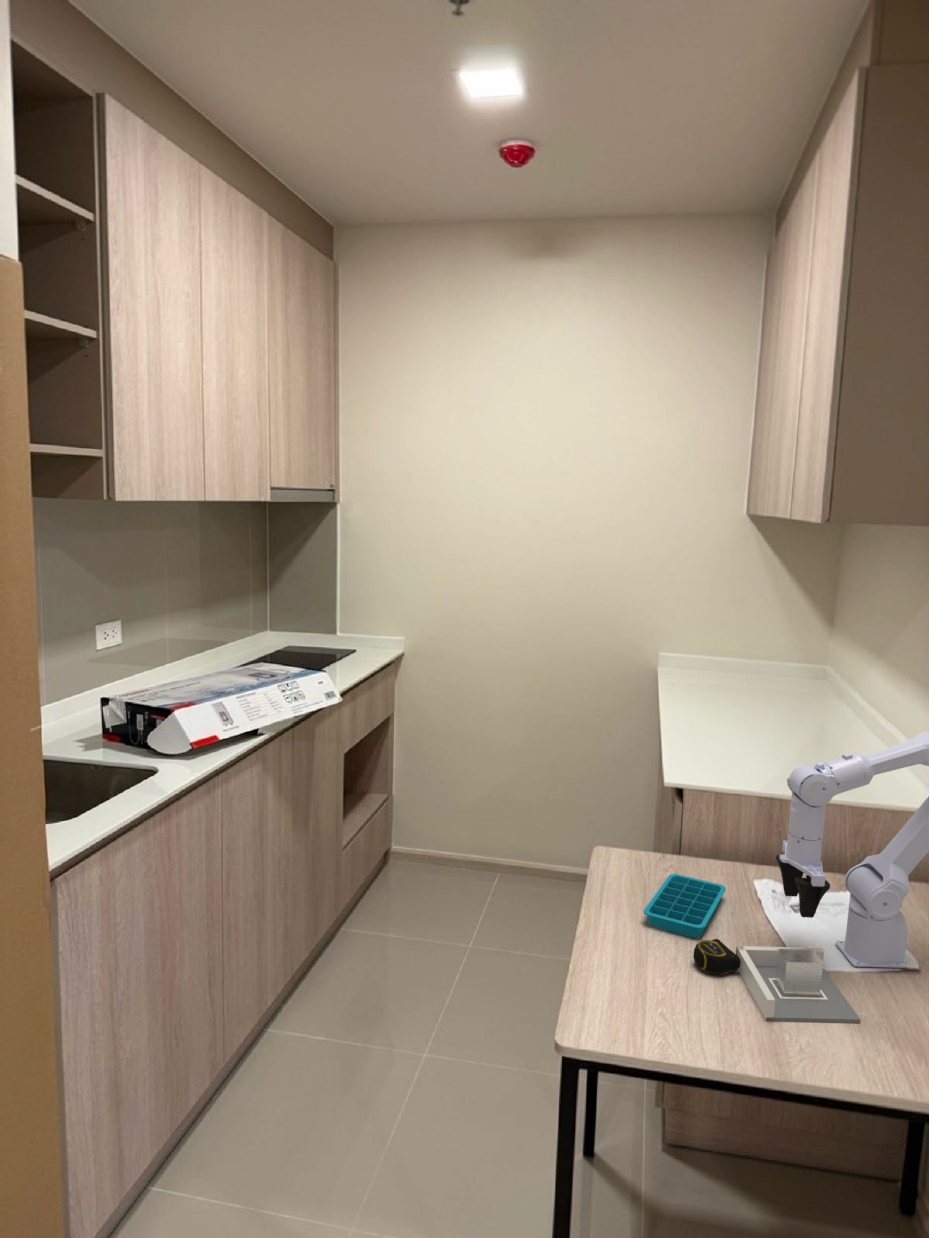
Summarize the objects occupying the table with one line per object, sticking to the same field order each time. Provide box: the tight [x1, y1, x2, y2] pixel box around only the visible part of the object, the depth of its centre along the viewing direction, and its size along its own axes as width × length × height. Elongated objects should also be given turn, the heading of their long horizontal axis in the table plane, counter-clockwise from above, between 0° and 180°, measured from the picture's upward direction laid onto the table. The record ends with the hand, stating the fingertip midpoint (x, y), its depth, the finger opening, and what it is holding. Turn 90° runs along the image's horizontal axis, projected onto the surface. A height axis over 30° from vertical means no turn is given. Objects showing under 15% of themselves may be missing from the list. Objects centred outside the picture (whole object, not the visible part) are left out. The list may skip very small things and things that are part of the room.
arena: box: [735, 945, 862, 1024], centre depth 145 cm, size 15×16×4 cm
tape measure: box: [692, 938, 740, 975], centre depth 152 cm, size 7×7×4 cm
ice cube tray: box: [643, 873, 727, 939], centre depth 172 cm, size 12×20×3 cm, turn 151°
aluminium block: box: [775, 949, 824, 997], centre depth 145 cm, size 4×6×6 cm, turn 90°
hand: (798, 905), depth 156 cm, fingers open, 7 cm apart
